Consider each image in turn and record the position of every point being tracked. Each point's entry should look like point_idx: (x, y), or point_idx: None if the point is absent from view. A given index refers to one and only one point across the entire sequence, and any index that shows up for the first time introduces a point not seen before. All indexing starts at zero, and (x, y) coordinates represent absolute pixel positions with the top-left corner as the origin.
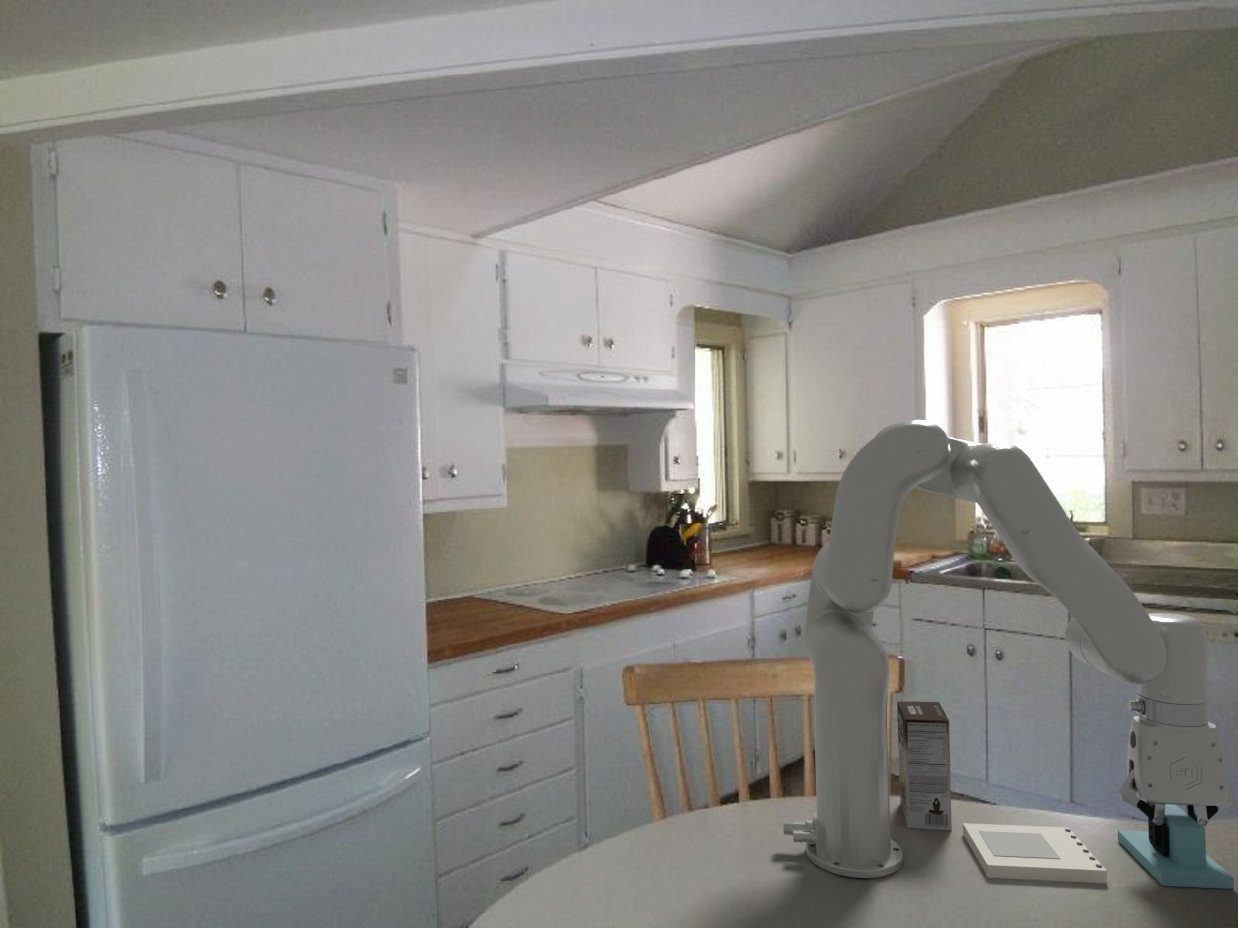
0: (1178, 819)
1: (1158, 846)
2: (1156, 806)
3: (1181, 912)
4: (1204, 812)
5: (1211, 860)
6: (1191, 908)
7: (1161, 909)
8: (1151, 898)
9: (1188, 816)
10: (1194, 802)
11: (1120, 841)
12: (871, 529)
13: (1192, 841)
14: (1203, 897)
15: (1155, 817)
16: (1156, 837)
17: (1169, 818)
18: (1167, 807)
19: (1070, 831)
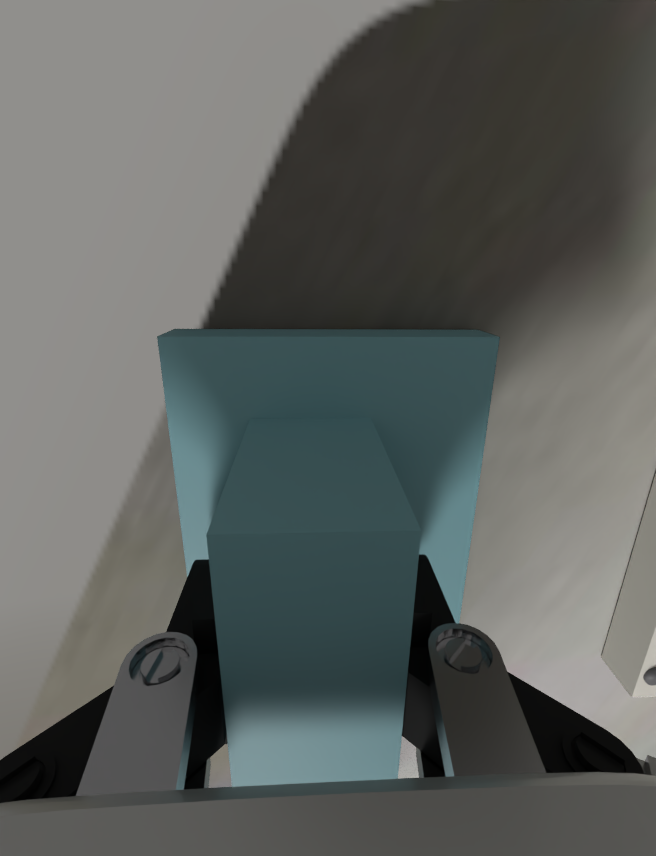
0: (341, 657)
1: None
2: (527, 760)
3: (538, 63)
4: (115, 736)
5: (188, 498)
6: (464, 114)
7: (616, 88)
8: (592, 205)
9: (237, 709)
10: (213, 820)
11: None
12: None
13: (312, 476)
14: (348, 240)
15: (496, 667)
16: (428, 580)
17: (397, 666)
18: None
19: (647, 669)
